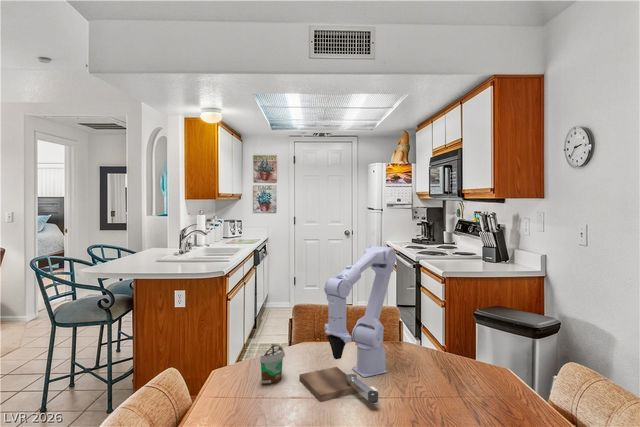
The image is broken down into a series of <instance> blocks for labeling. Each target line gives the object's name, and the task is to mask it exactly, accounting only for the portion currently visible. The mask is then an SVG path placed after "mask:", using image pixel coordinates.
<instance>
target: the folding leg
mask: <svg viewBox="0 0 640 427" xmlns="http://www.w3.org/2000/svg"><path fill="white" fill-rule="evenodd" d="M347 385H349V386H351V387H352V388H354V389H355V390H356V391H357V392H359V393H358V394H360V395H361V396H362V397H363V398H365V399H366V400H367V402H369V403H371V404H373V403H377V402H378V403H379V391H378V392H377V391H373V390H372V389H371V388H370V387H371V386H368V385H366V384H365V382H363V381H362V380H360V379H359V378H358V375H357V374H355V373H350V374H349V373H348V374H347Z"/></svg>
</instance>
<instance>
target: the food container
mask: <svg viewBox="0 0 640 427" xmlns="http://www.w3.org/2000/svg"><path fill="white" fill-rule="evenodd" d="M285 357H286V353H285V350H284V348H283V346H281V345H280V344H276V343H271V347H270V348H268V350H266V351H265V353H264V354H263V355H260V358H259V359H260V360H259V363H260V372H261V373H260V374H261V386H271V385H276V384H278V383H280V382H281V381H282V379H283V378H282V377H283V376H282V375H283V374H282V373H283V361H284V360H283V359H284V358H285Z"/></svg>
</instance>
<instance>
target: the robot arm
mask: <svg viewBox="0 0 640 427" xmlns="http://www.w3.org/2000/svg"><path fill="white" fill-rule="evenodd" d="M396 261H397V254H396V251H395V249H394V248H393V247H392V246H388V247H387V246H377V245H372V244H370V245H368V246H367V247H366V248H365V249H364V252H363V255H362V256H360V258H359V259H358V260H357V261H356V263H354V264H348V265H346V266H345V268H344V269H343V270H341V272H339V273H338V274H337V275H336V276H335V277H330V278H329V279H327V280H326V282H325V284H324V287H323V289H324V290H323V291H324V293H325V295H326V300H327V302H328V305H327V307H328V308H327V309H328V313H327V314H328V315H327V316H328V318H327V323H324V331H325V332H324V334H326V335H327V336H326V339H327V341H328V343H329V346H330V349H331V353H332V356H333V359H334V360H340V359H342V357H343V352H344V349H345V347H346V344H350V343H352V341H353V342H354V344H355V346H356V366H354V367H352V368H351V369H352V370H353V371H354V372H356V373H357V374H359V375H360V376H361V377H362V378H369V377H372V376H377V375H381V374H384V373H387V370H386V350H385V348H384V346H383V345H382V344H383V341H384V332H385V327H384V325H383V324H382V322H381V321H380V317H381V314H382V311H383V305H384V303H385V298H386V294H387V292H388V286H389V283H390V279H391V276H392V275H391V274H392V273H394V269H395V266H396ZM369 267H370V268H371V269H372V270H373V271H374V273H375V276H374V279H373V283H372V287H371V290H370V294H369V298H368V301H367V305H366V308H365V313H364V315H363V316H361V317H360V318H359V319H357V320H356V324H355V325H354V327H353V329H352V331H351V332H352V333H351V334H350V333H349V331H348V329H347V298H348V297H349V296H350V293H351V291H352V288H353V286H354V285H355V284H356V283H357V282H358V281H359V280H360V279H361V277H362V273H363V272H364V271H366V270H367V269H368V268H369Z"/></svg>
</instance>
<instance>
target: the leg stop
mask: <svg viewBox="0 0 640 427" xmlns="http://www.w3.org/2000/svg"><path fill="white" fill-rule="evenodd" d="M369 387H370V388H371V389H372V390H373V391H377V392H378V393H379V389H377V388H376V387H375V386H373V385H372V386H369ZM372 404H374V405H378V404H379V401H378V402H377V403H372Z"/></svg>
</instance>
